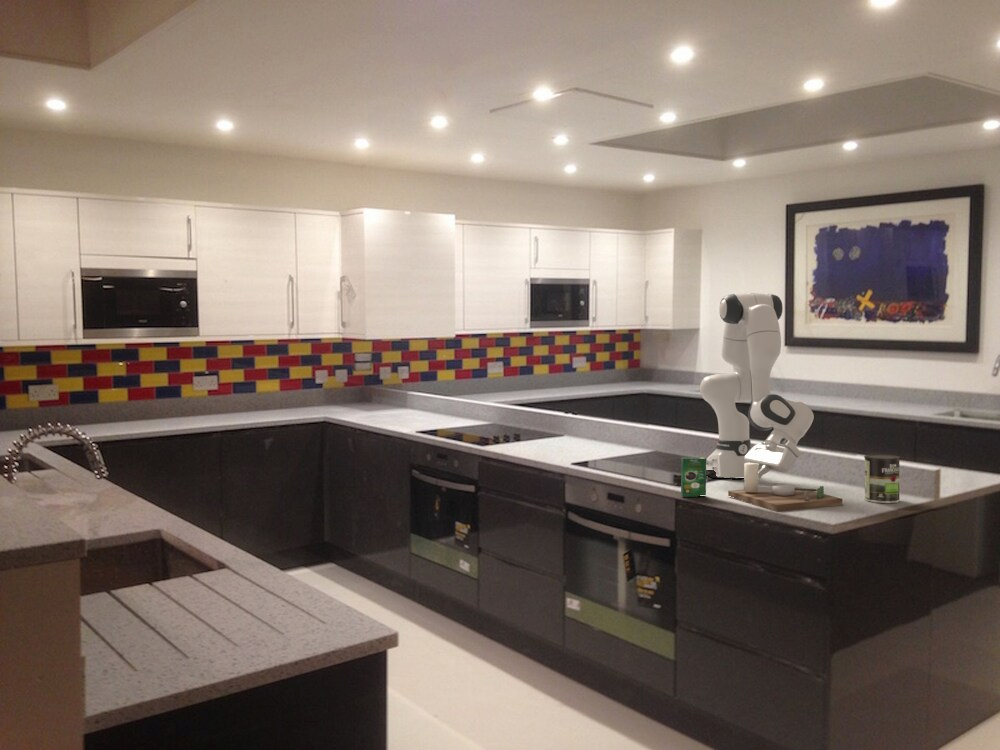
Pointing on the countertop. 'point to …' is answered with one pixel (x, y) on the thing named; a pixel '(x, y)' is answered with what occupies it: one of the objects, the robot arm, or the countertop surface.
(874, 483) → the coffee can
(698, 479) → the coffee box
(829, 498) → the board
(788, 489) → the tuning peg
